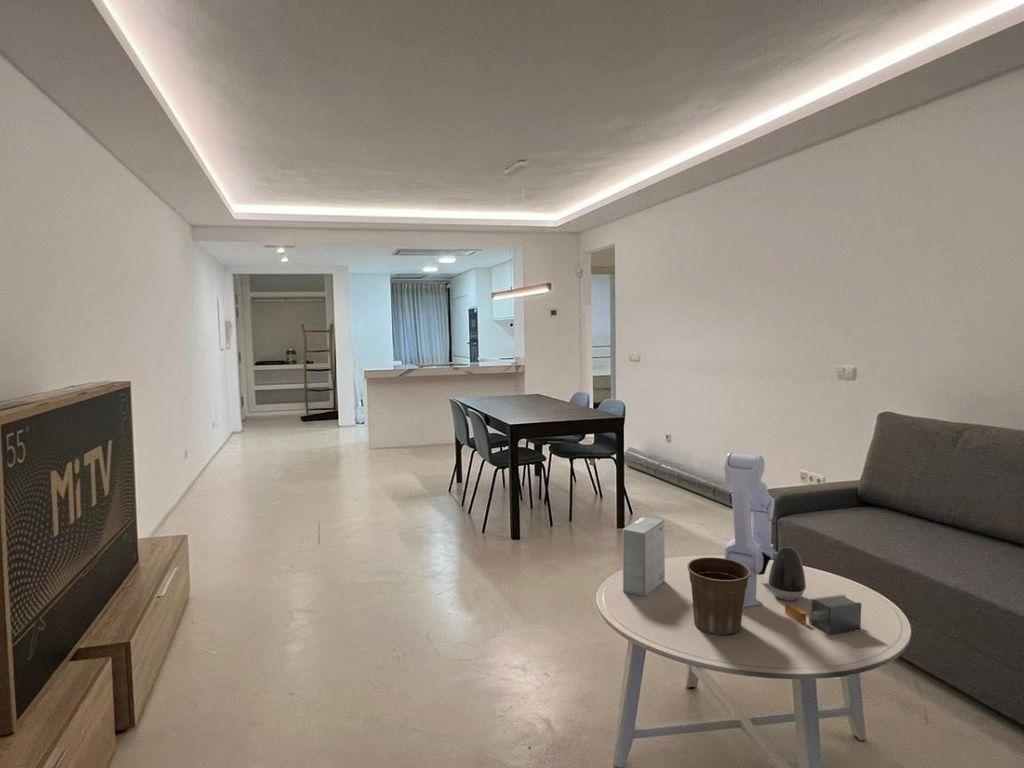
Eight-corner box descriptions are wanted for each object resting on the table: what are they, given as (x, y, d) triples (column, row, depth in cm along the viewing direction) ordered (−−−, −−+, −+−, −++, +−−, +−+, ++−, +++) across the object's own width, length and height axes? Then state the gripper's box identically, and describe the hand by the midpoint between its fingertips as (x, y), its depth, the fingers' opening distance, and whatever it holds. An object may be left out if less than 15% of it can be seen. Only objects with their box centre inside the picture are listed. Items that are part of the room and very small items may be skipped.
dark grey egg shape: (803, 592, 196) (805, 543, 195) (806, 606, 186) (809, 554, 185) (767, 587, 200) (769, 539, 198) (768, 600, 190) (770, 550, 189)
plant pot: (749, 644, 165) (750, 583, 163) (683, 634, 170) (684, 575, 169) (749, 617, 180) (750, 561, 178) (689, 609, 185) (690, 554, 184)
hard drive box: (642, 575, 211) (643, 516, 209) (665, 581, 206) (665, 519, 204) (621, 591, 198) (621, 528, 196) (644, 597, 194) (645, 532, 192)
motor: (820, 636, 168) (821, 609, 168) (785, 613, 182) (785, 588, 181) (869, 629, 172) (870, 602, 172) (831, 607, 186) (832, 582, 185)
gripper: (787, 538, 198) (786, 581, 199) (758, 524, 212) (757, 564, 213) (767, 540, 196) (766, 583, 197) (739, 526, 210) (738, 566, 211)
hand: (760, 573), depth 205 cm, fingers closed
